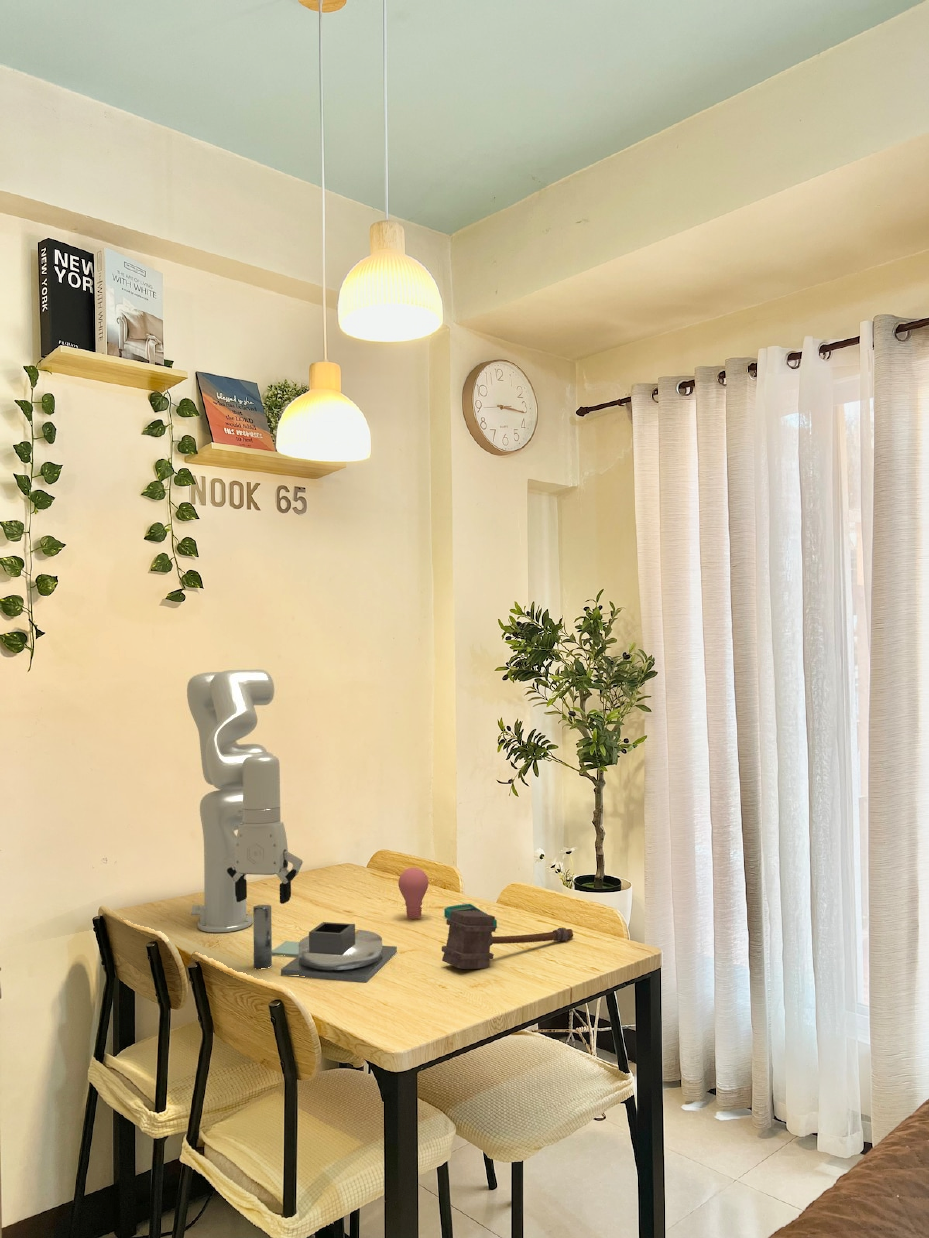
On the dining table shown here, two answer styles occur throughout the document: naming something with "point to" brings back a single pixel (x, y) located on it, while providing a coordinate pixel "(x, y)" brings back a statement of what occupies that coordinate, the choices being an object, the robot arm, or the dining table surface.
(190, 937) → the dining table surface
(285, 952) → the mat
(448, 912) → the digital multimeter
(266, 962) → the chrome capsule
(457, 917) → the hammer
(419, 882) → the light bulb
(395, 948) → the base
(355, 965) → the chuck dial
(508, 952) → the dining table surface
